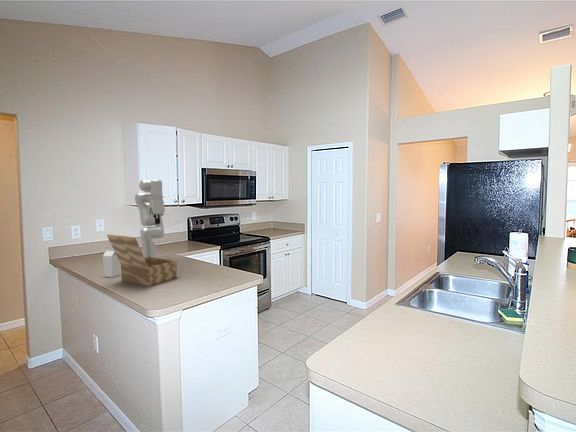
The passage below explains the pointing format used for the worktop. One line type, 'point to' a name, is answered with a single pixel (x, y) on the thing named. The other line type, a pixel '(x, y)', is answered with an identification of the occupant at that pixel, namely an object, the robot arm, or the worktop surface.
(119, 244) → the flap
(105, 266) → the milk carton
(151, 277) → the carton
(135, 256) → the flap
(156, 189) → the robot arm
